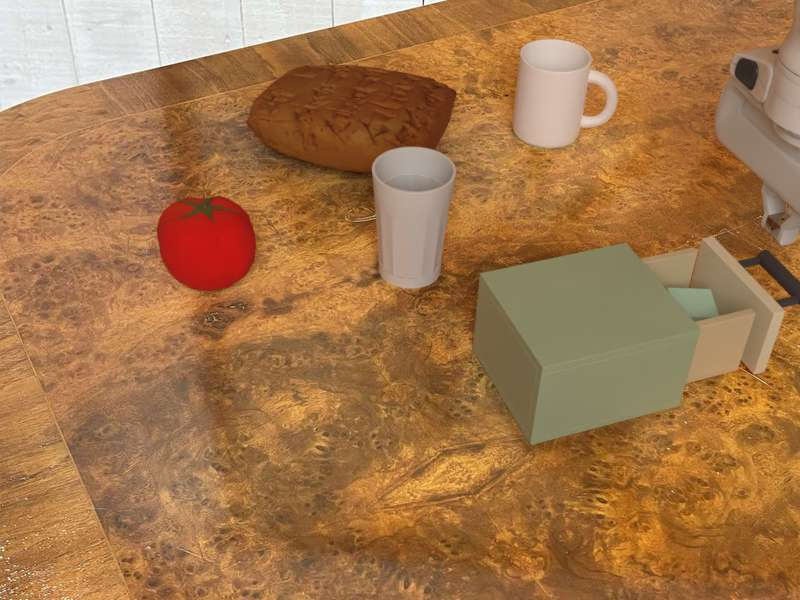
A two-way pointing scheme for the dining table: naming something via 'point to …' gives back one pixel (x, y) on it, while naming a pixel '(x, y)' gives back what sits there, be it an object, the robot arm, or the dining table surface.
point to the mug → (556, 93)
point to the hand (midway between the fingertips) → (777, 235)
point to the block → (695, 302)
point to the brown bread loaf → (350, 114)
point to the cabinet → (582, 341)
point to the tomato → (206, 242)
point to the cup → (412, 213)
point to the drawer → (729, 305)
